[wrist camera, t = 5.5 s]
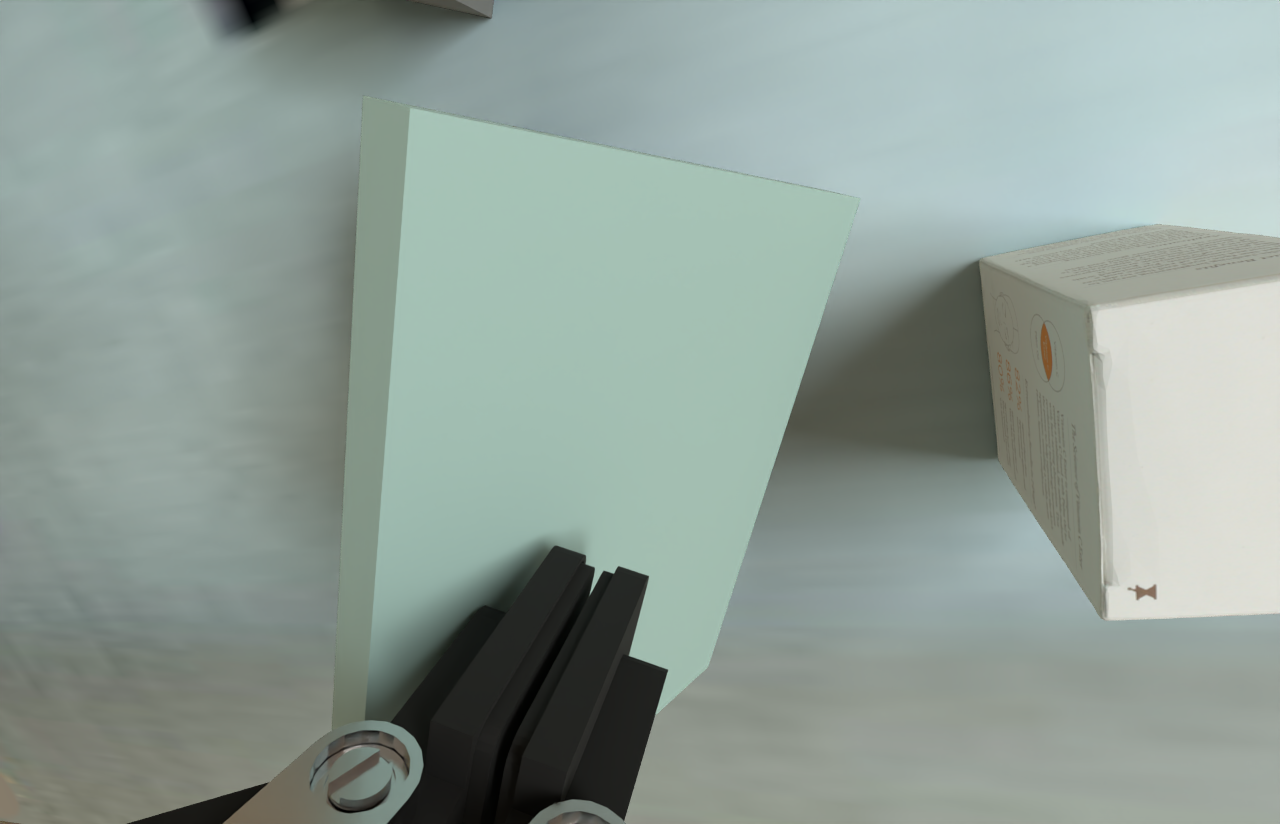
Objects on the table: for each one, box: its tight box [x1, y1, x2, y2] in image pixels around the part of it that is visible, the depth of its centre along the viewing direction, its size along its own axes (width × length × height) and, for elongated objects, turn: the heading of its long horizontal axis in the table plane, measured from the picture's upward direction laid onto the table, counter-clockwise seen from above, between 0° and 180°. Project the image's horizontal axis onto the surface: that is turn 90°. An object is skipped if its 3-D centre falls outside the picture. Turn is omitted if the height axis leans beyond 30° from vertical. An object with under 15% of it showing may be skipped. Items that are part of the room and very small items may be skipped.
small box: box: [979, 224, 1280, 621], centre depth 19 cm, size 8×6×10 cm
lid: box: [332, 96, 860, 730], centre depth 14 cm, size 15×12×1 cm
